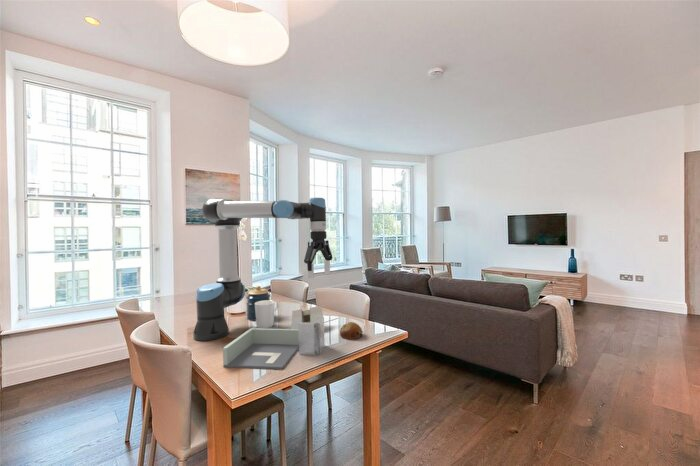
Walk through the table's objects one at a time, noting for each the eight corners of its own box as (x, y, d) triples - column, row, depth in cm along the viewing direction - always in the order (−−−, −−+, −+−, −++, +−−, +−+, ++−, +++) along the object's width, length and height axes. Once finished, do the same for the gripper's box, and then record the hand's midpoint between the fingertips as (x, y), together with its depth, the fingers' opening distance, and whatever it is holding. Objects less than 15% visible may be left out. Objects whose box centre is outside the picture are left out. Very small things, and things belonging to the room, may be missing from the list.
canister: (263, 312, 181) (262, 283, 181) (275, 316, 172) (274, 285, 172) (242, 317, 172) (241, 286, 171) (254, 322, 163) (253, 289, 162)
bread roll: (354, 339, 144) (349, 322, 147) (369, 334, 138) (363, 317, 140) (339, 345, 137) (333, 327, 140) (353, 340, 131) (347, 322, 133)
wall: (327, 336, 150) (324, 310, 161) (325, 327, 144) (322, 300, 155) (294, 342, 149) (293, 316, 160) (290, 333, 143) (289, 307, 154)
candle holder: (264, 330, 149) (263, 305, 149) (250, 327, 154) (250, 303, 154) (279, 324, 157) (278, 301, 157) (265, 322, 162) (265, 299, 162)
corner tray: (223, 366, 109) (222, 348, 109) (251, 343, 131) (250, 328, 131) (282, 369, 106) (281, 350, 106) (300, 345, 128) (300, 329, 128)
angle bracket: (319, 355, 118) (318, 324, 118) (299, 354, 119) (298, 323, 119) (324, 345, 128) (323, 316, 128) (306, 344, 129) (305, 316, 129)
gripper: (309, 231, 131) (310, 280, 131) (338, 230, 153) (339, 272, 153) (295, 231, 134) (296, 279, 135) (326, 230, 156) (327, 271, 157)
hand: (319, 275), depth 144 cm, fingers open, 13 cm apart
